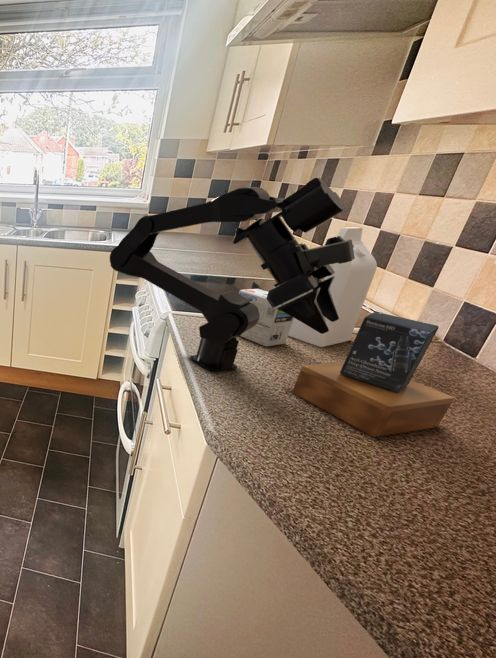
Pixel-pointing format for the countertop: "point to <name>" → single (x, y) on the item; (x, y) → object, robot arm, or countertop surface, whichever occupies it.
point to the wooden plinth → (371, 401)
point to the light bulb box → (267, 320)
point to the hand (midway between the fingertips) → (330, 326)
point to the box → (388, 350)
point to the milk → (343, 294)
